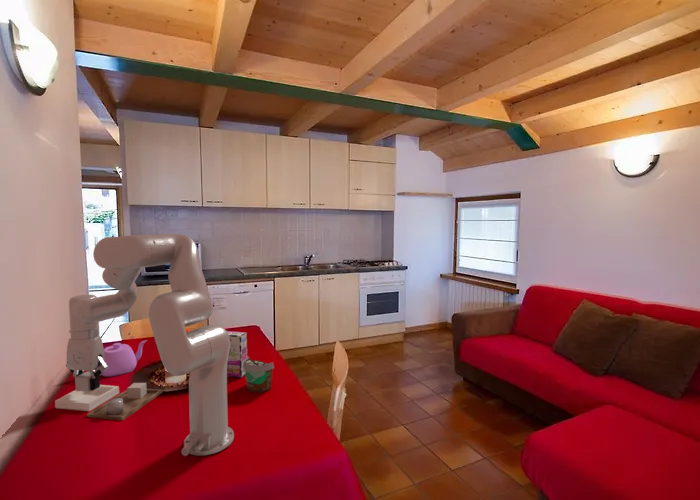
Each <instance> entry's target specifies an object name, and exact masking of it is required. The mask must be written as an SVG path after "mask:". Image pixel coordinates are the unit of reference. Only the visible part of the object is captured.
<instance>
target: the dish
mask: <svg viewBox="0 0 700 500" xmlns="http://www.w3.org/2000/svg"><path fill="white" fill-rule="evenodd" d="M119 394H120V387H119V385H118V386H117V385H109V384H107V385H106V384H100V387H99V388H97V389H95V390H93V391H89V392H84V391H76V389H75V390H72V391H71V392H69V393H67V394H65V395H64V396H61V397H60V398H58V399H55V400H54V403H55V404H54V407H55V409H59V410H60V409H61V410H69V411H70V410H72V411H84V412H91V411H93V410H95V409H96V408H98V407H100V406H101V405H103V404H104V403H106V402H107V401H109V400H111V399H113V398H114V397H116V396H118V395H119Z"/></svg>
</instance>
